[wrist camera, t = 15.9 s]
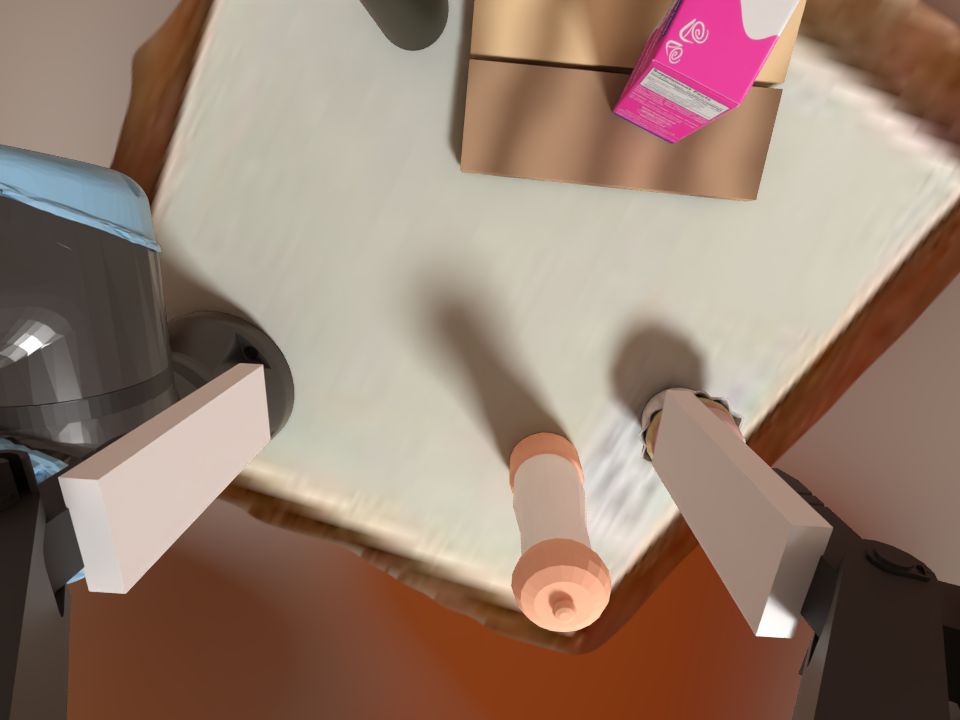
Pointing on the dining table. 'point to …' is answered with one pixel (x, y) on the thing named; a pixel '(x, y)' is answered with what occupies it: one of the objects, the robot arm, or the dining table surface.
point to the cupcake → (654, 413)
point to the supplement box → (700, 63)
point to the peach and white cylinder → (554, 537)
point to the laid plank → (590, 34)
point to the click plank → (605, 135)
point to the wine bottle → (409, 20)
